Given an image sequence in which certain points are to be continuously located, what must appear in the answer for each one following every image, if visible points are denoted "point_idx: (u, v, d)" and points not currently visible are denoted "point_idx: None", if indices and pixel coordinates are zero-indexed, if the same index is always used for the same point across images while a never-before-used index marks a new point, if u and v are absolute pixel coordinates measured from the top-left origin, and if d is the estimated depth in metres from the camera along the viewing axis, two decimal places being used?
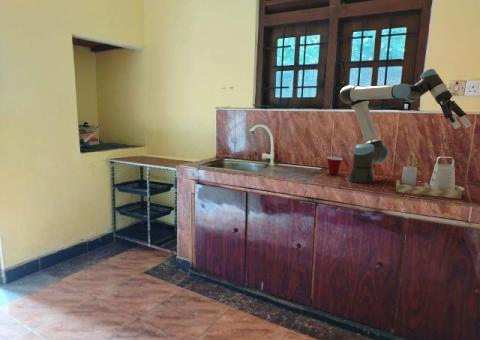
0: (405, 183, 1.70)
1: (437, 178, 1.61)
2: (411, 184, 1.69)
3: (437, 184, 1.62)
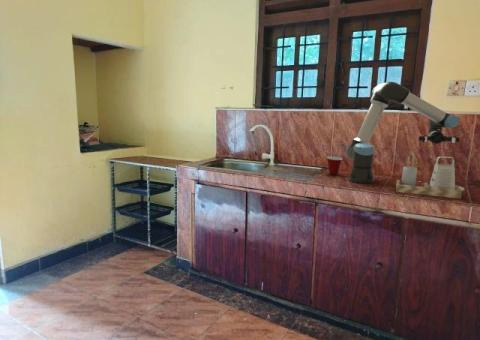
0: (405, 183, 1.70)
1: (437, 178, 1.61)
2: (411, 184, 1.69)
3: (437, 184, 1.62)
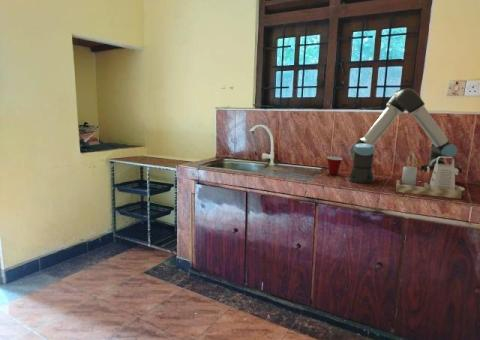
0: (405, 183, 1.70)
1: (437, 178, 1.61)
2: (411, 184, 1.69)
3: (437, 184, 1.62)
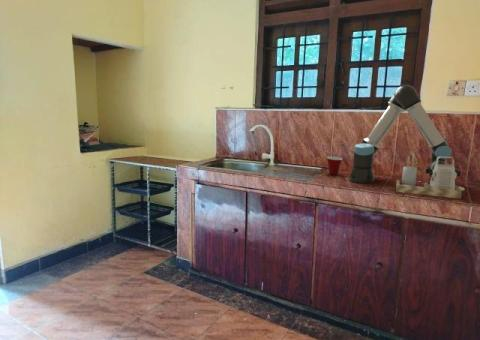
0: (405, 183, 1.70)
1: (437, 178, 1.61)
2: (411, 184, 1.69)
3: (437, 184, 1.62)
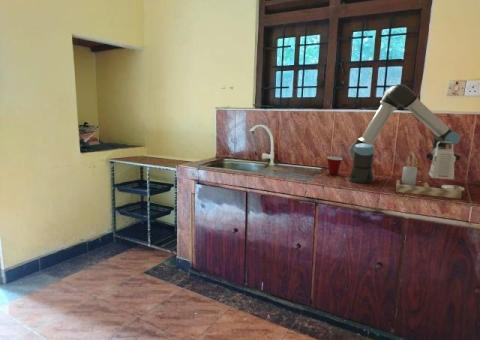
0: (405, 183, 1.70)
1: (437, 162, 1.70)
2: (411, 184, 1.69)
3: (437, 168, 1.70)
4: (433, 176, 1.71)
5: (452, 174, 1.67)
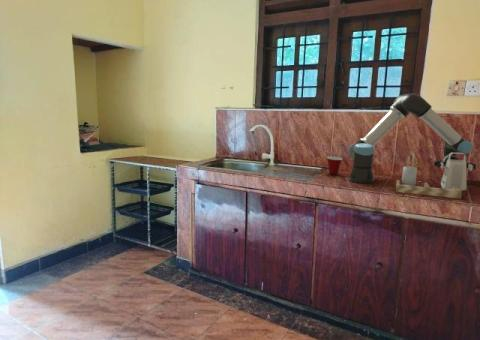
0: (405, 183, 1.70)
1: (449, 173, 1.72)
2: (411, 184, 1.69)
3: (449, 178, 1.72)
4: (445, 187, 1.73)
5: (464, 185, 1.70)
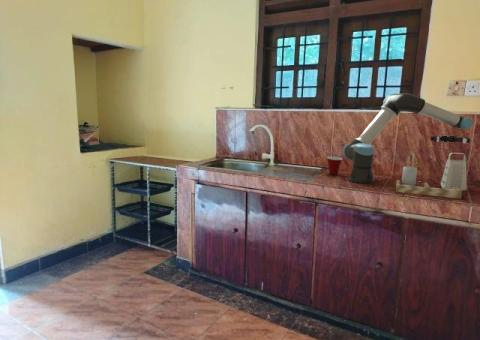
0: (405, 183, 1.70)
1: (449, 173, 1.72)
2: (411, 184, 1.69)
3: (449, 178, 1.72)
4: (445, 187, 1.73)
5: (464, 185, 1.70)
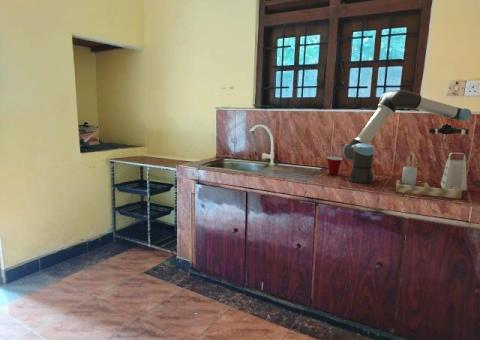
0: (405, 183, 1.70)
1: (449, 173, 1.72)
2: (411, 184, 1.69)
3: (449, 178, 1.72)
4: (445, 187, 1.73)
5: (464, 185, 1.70)
